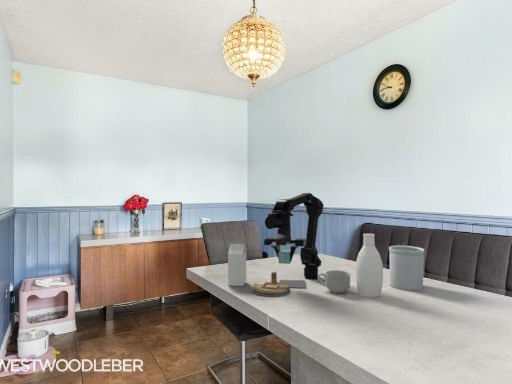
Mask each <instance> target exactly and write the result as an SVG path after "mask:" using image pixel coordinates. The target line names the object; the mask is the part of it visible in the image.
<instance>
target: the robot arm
mask: <svg viewBox="0 0 512 384" xmlns="http://www.w3.org/2000/svg"><path fill="white" fill-rule="evenodd" d="M300 205H303V206H305V209H306V210H305V212H306V214H307V216H308V218H307V228H306V236H305V238H302V237H300V238H299V237H298V238H295V239H292V234H291V233H292V227H291V217H293V216H294V214H293V213H292V211H293V210H294V209H295V208H296V207H297V206H300ZM324 206H325V205H324V203H323V201H322V200H321V199H320V198H318V197H316V196H315V195H313V193H311V192H302V193H301V194H298V195H296V196H293V197H290V198H283V199H277V200H276V201H275V204H274V206H273V208H272V210H271V213H267V216H266V218H265V220H264V225H265V227H266V229H268V230H273V229H277V233H276V235H275V237H271V236H269V237H266V238H264V239H263V245H264V246H270V247H271V248H273V249H274V251H275V253H276V257H277V259H278V260H279V255H278V252H279V251H280V250H281V246H282V247H283V246H286V245H291V246H290V247H289V248H290V250H291V251H290V261H291V262H292V261H293V257H294V254H295V253H296V249H297V248H299V247H300V253H299V257H300V262H301V265H303V266H304V267H303V276H304V279H311V280H312V279H313V280H318V275H319V267H321V266H322V260H321V258H320V257H319V253H318V250H317V246H316V243H317V234H318V223H319V218H320V216H321V215H322V213H323V210H324Z"/></svg>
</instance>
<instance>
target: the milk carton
mask: <svg viewBox="0 0 512 384" xmlns="http://www.w3.org/2000/svg"><path fill="white" fill-rule="evenodd" d="M227 279H228V280H227V282H228V283H227V285H228V286H231V287H243V286H244V285H246V283H247V250H246V247H245V244H243V243H229V248H228V252H227Z"/></svg>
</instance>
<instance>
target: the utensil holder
mask: <svg viewBox="0 0 512 384" xmlns="http://www.w3.org/2000/svg"><path fill="white" fill-rule="evenodd" d="M388 251H389V285H390V286H391V287H393V288H395V289H399V290H403V291H421V290H423V287H424V271H425V270H424V266H425V262H424V261H425V259H424V258H425V252H426V251H425V249H424V248H422V247H418V246H412V245H391V246H388Z"/></svg>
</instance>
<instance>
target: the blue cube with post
mask: <svg viewBox="0 0 512 384" xmlns="http://www.w3.org/2000/svg"><path fill="white" fill-rule="evenodd" d="M290 251H291V249H290V250H289V249H280V251H279V252H278V255H279V259H278V264H281V265H282V264H283V265H287V264H288V265H290V264H291V263H292V261H290Z"/></svg>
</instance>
